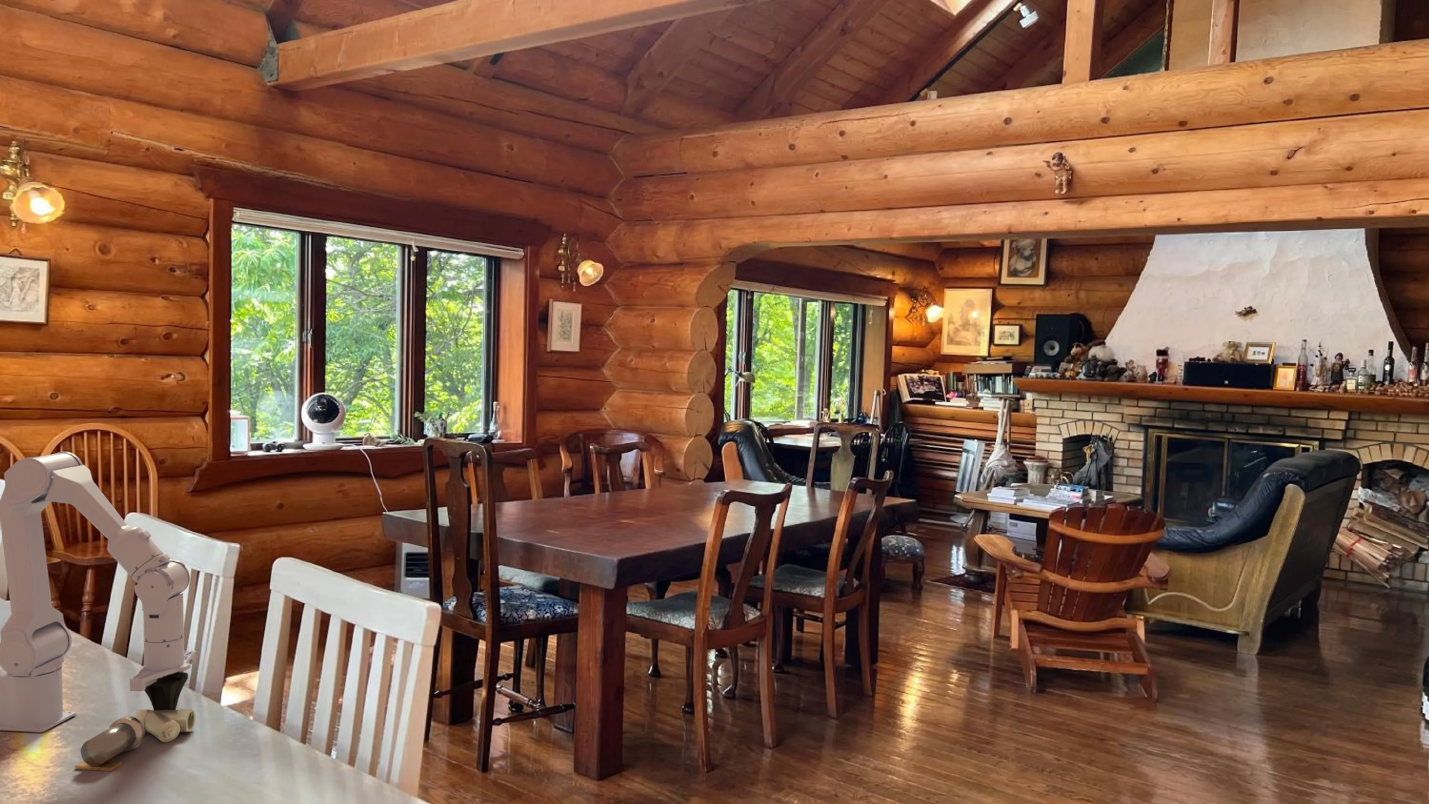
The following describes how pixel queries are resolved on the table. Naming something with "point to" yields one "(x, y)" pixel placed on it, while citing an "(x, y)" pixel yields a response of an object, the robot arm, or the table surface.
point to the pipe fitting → (166, 722)
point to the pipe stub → (111, 744)
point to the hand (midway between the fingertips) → (165, 719)
